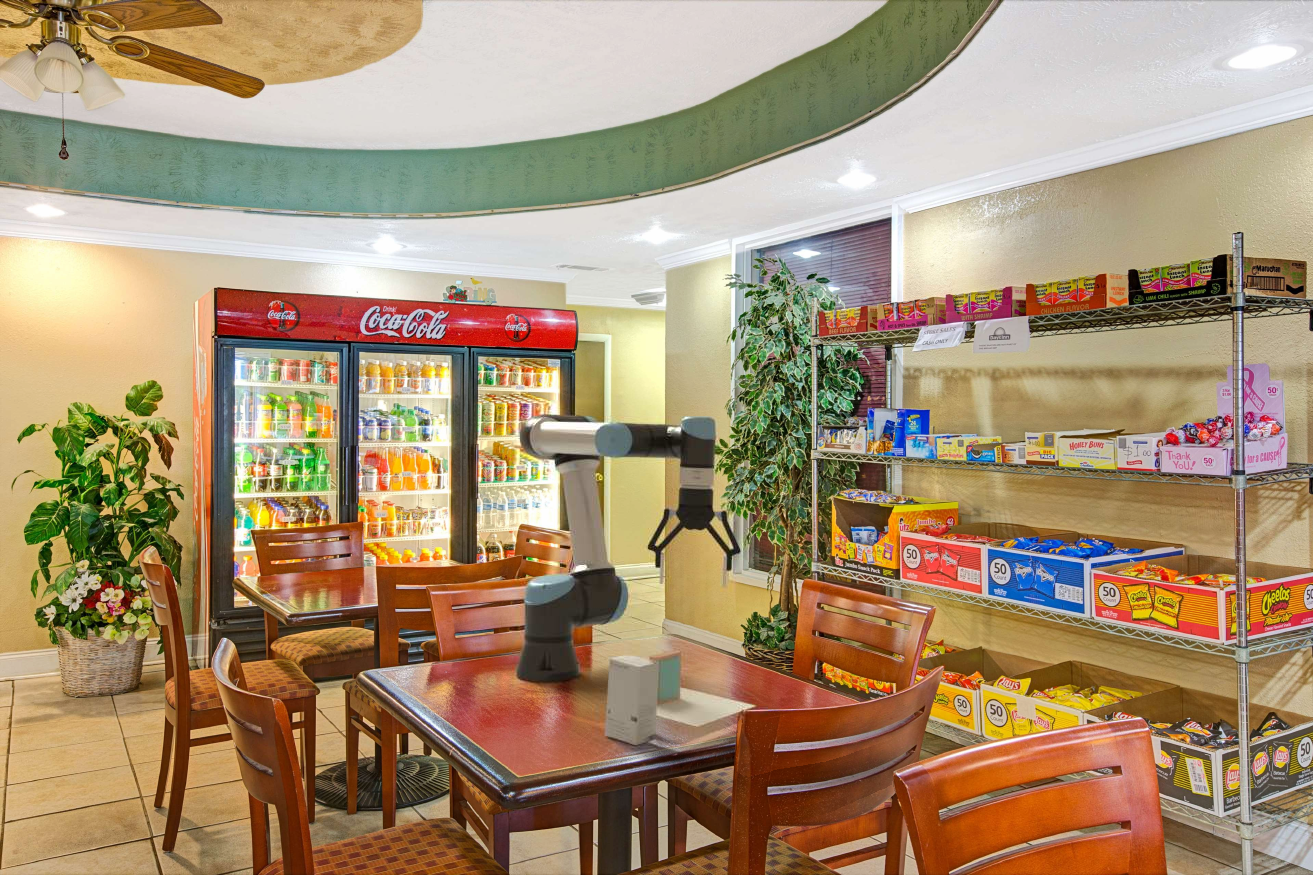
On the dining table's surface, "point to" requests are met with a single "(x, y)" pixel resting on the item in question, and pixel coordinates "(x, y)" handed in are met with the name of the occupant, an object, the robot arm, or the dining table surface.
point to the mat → (699, 708)
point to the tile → (668, 676)
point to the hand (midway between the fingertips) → (692, 584)
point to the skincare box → (632, 699)
